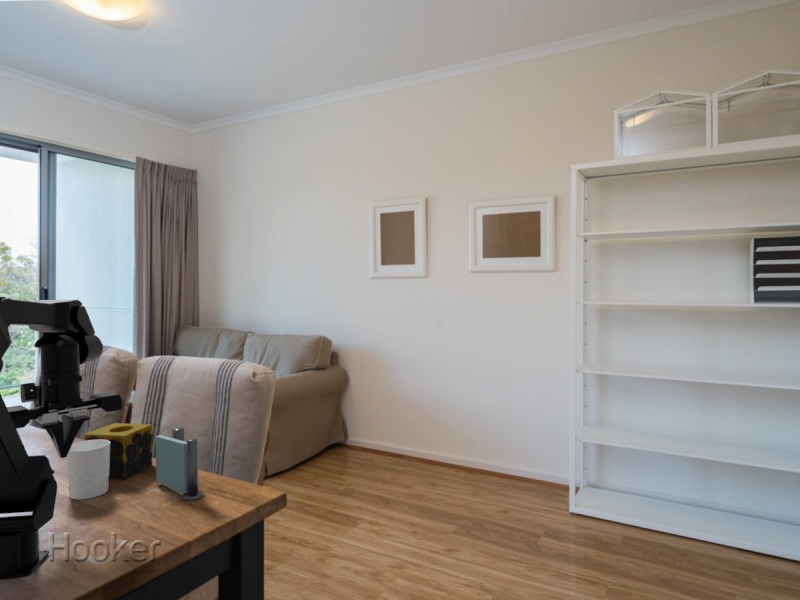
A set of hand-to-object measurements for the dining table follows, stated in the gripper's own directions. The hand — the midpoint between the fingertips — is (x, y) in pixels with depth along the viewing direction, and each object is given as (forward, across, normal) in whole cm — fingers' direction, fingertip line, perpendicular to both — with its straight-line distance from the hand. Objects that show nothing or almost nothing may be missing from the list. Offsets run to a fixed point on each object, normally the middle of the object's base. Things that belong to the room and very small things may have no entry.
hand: (63, 457), depth 89 cm
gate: (+11, -20, 0) cm, 23 cm away
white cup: (+12, -8, -12) cm, 19 cm away
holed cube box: (+12, -17, -20) cm, 29 cm away
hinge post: (+12, -20, +7) cm, 25 cm away
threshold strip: (+12, -20, 0) cm, 24 cm away
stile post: (+12, -22, -3) cm, 26 cm away
